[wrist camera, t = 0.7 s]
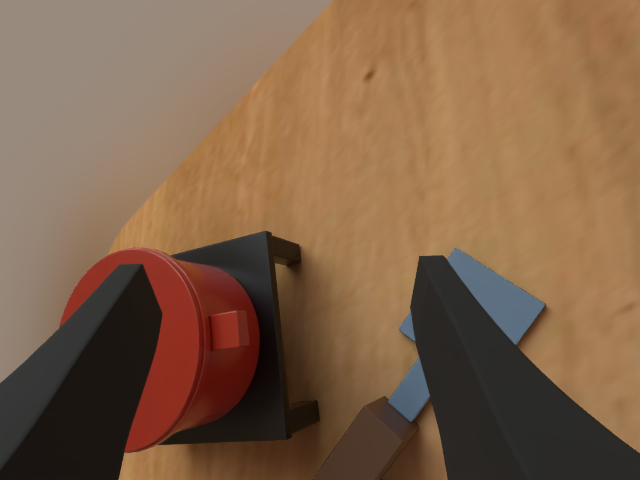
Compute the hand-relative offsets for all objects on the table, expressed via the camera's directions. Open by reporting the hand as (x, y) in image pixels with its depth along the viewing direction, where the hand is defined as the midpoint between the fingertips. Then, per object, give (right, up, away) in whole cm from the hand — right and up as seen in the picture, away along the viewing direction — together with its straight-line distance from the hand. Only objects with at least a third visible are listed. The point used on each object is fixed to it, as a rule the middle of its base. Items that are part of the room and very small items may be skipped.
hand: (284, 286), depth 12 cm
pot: (-5, -5, +18) cm, 19 cm away
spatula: (+6, -7, +12) cm, 16 cm away
